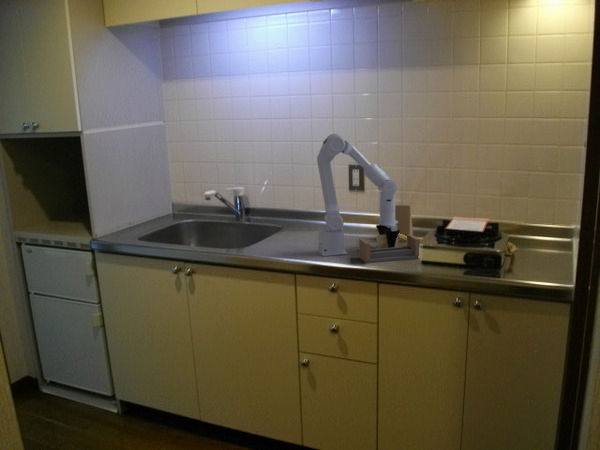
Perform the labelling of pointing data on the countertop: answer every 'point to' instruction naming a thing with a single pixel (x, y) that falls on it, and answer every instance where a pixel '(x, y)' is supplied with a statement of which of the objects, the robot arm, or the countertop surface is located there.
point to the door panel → (385, 241)
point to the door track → (389, 251)
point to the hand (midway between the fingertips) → (387, 245)
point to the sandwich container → (403, 220)
